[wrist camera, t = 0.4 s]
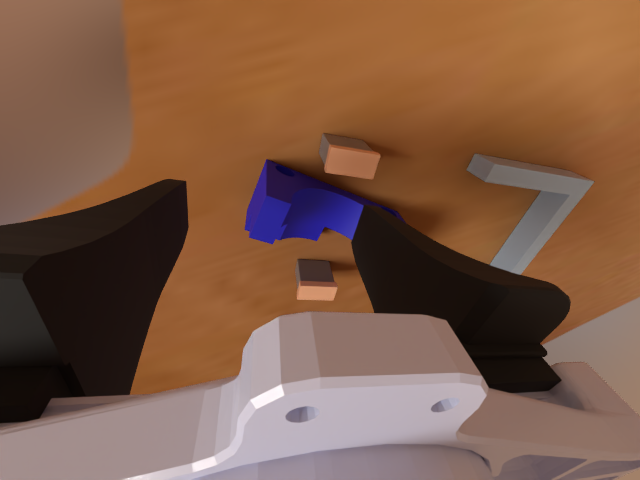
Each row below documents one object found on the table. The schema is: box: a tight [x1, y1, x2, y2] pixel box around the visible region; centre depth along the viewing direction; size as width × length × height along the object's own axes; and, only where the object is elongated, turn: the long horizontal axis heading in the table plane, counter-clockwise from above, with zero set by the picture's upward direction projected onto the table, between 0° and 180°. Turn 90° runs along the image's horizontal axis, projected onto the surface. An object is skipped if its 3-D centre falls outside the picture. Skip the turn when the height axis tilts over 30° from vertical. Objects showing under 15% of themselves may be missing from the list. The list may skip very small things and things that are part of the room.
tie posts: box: [295, 133, 381, 300], centre depth 22 cm, size 13×3×4 cm, turn 168°
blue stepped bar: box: [245, 159, 406, 244], centre depth 21 cm, size 12×4×6 cm, turn 64°
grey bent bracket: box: [467, 153, 595, 275], centre depth 26 cm, size 14×10×2 cm
